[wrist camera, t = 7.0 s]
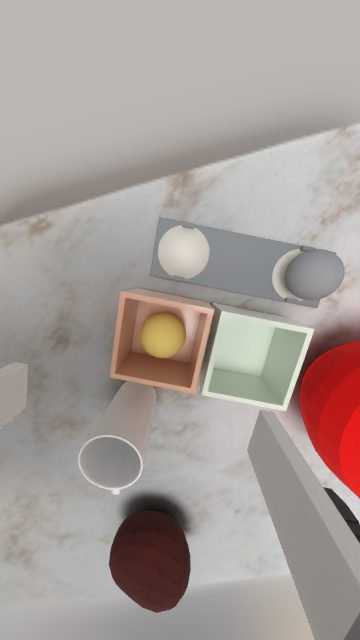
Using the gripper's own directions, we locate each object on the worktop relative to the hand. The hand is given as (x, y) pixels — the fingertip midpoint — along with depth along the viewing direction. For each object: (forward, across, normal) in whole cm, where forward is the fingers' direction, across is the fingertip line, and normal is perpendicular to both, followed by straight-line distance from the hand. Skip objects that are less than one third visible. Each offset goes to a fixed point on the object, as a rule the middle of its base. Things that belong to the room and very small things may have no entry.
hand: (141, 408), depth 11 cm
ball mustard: (+15, 0, 0) cm, 15 cm away
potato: (+19, +4, -36) cm, 41 cm away
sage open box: (+19, +11, 0) cm, 22 cm away
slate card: (+19, +8, +11) cm, 23 cm away
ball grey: (+15, +16, +11) cm, 25 cm away
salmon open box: (+19, 0, 0) cm, 19 cm away
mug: (+19, -3, -14) cm, 24 cm away
